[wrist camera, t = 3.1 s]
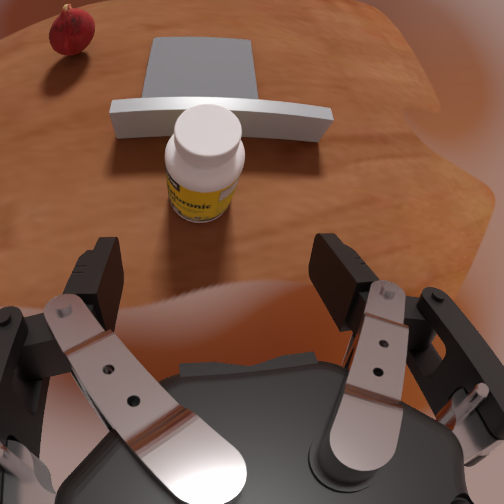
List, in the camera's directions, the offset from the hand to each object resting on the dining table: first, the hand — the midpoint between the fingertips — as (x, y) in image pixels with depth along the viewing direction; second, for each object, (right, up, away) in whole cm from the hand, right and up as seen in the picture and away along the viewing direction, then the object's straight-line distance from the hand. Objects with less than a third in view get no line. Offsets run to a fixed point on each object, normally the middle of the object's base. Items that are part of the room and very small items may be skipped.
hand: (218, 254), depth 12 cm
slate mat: (-4, +20, +17) cm, 27 cm away
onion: (-20, +25, +15) cm, 36 cm away
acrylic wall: (-2, +12, +16) cm, 20 cm away
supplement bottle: (-3, +5, +14) cm, 15 cm away
